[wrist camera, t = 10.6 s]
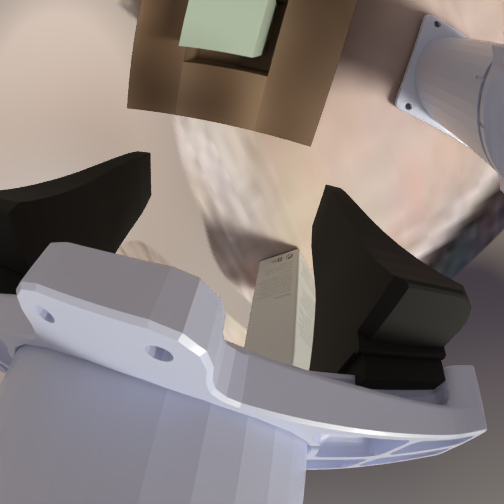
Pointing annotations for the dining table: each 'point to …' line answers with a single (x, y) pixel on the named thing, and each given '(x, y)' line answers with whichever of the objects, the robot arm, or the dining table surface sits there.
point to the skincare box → (283, 310)
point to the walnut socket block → (242, 69)
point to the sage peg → (229, 25)
